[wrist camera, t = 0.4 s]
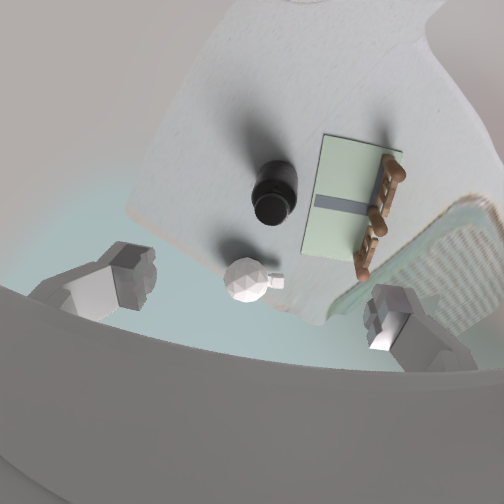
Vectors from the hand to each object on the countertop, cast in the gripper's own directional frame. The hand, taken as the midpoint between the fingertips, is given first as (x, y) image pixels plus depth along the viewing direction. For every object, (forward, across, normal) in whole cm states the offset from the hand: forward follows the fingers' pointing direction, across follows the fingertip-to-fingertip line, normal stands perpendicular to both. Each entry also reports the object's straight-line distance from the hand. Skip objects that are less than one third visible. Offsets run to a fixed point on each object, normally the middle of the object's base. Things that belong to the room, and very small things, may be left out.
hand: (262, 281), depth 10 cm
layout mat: (+41, -14, +11) cm, 44 cm away
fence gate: (+41, -18, +18) cm, 48 cm away
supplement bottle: (+41, 0, +8) cm, 42 cm away
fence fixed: (+40, -18, +6) cm, 45 cm away
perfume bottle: (+43, +2, +29) cm, 52 cm away
